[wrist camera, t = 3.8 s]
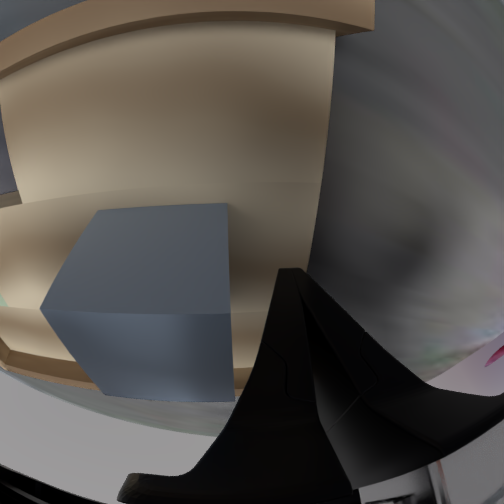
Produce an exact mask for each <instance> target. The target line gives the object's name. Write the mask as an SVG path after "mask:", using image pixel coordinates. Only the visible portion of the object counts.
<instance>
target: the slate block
mask: <svg viewBox="0 0 504 504" xmlns="http://www.w3.org/2000/svg"><path fill="white" fill-rule="evenodd" d="M39 309H40V310H41V312H42V314H43V315H44V317H45V318H46V320H47V321H48V323H49V324H50V326H51V327H52V329H53V330H54V332H55V333H56V335H57V336H58V338H59V339H60V340H61V342H62V343H63V345H64V346H65V347H66V349H67V350H68V351H69V353H70V354H71V355H72V357H73V358H74V359H75V360H76V362H77V363H78V364H79V365H80V367H81V368H82V369H83V370H84V372H85V373H86V374H87V375H88V376H89V378H90V379H91V380H92V381H93V382H94V383H95V384H96V386H97V387H98V388H99V389H100V390H101V391H102V392H103V393H104V394H105V395H109V396H116V397H125V398H134V399H145V400H159V401H179V402H231V401H235V389H234V372H233V352H232V331H231V307H230V281H229V251H228V211H227V203H213V204H186V205H166V206H148V207H133V208H119V209H107V210H98V211H97V212H96V214H95V215H94V217H93V218H92V219H91V221H90V222H89V224H88V225H87V227H86V228H85V230H84V231H83V233H82V234H81V236H80V237H79V239H78V241H77V242H76V244H75V245H74V247H73V249H72V250H71V252H70V253H69V255H68V257H67V258H66V260H65V262H64V263H63V265H62V267H61V269H60V270H59V272H58V274H57V276H56V277H55V279H54V281H53V283H52V285H51V287H50V289H49V290H48V292H47V294H46V296H45V298H44V300H43V302H42V304H41V306H40V308H39Z"/></svg>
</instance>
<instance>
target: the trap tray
mask: <svg viewBox="0 0 504 504" xmlns="http://www.w3.org/2000/svg"><path fill="white" fill-rule="evenodd" d="M374 17H375V0H87V1H85V2H82V3H79V4H76V5H74V6H71V7H68V8H66V9H64V10H61V11H59V12H56V13H54V14H52V15H50V16H47V17H45V18H43V19H41V20H39V21H37V22H35V23H33V24H31V25H29V26H27V27H25V28H23V29H22V30H20V31H18V32H16V33H14V34H13V35H11V36H9V37H8V38H6V39H4V40H3V41H1V42H0V105H1V113H2V120H3V126H4V132H5V137H6V143H7V147H8V152H9V156H10V161H11V165H12V169H13V173H14V176H15V180H16V183H17V187H18V190H19V191H15V192H11V193H6V194H2V195H0V366H1V367H2V368H3V369H5V370H8V371H11V372H15V373H18V374H22V375H25V376H29V377H33V378H37V379H41V380H46V381H50V382H55V383H59V384H64V385H70V386H75V387H81V388H87V389H94V390H100V389H99V388H98V387H97V386H96V384H95V383H94V382H93V381H92V380H91V379H90V378H89V376H88V375H87V374H86V373H85V372H84V370H83V369H82V368H81V367H80V365H79V364H78V363H77V362H76V360H75V359H74V358H73V357H72V355H71V354H70V353H69V351H68V350H67V349H66V347H65V346H64V345H63V343H62V342H61V340H60V339H59V338H58V336H57V335H56V333H55V332H54V330H53V329H52V327H51V326H50V324H49V323H48V321H47V320H46V318H45V317H44V315H43V314H42V312H41V310H40V309H39V308H40V306H41V304H42V302H43V300H44V298H45V296H46V294H47V292H48V290H49V289H50V287H51V285H52V283H53V281H54V279H55V277H56V276H57V274H58V272H59V270H60V269H61V267H62V265H63V263H64V262H65V260H66V258H67V257H68V255H69V253H70V252H71V250H72V249H73V247H74V245H75V244H76V242H77V241H78V239H79V237H80V236H81V234H82V233H83V231H84V230H85V228H86V227H87V225H88V224H89V222H90V221H91V219H92V218H93V217H94V215H95V214H96V212H97V211H98V210H107V209H119V208H133V207H148V206H166V205H186V204H213V203H227V211H228V251H229V281H230V307H231V331H232V352H233V372H234V389H235V396H241V393H242V391H243V389H244V387H245V385H246V383H247V381H248V378H249V376H250V373H251V371H252V368H253V366H254V363H255V360H256V356H257V353H258V349H259V345H260V343H261V338H262V334H263V330H264V326H265V322H266V318H267V314H268V310H269V306H270V302H271V298H272V293H273V289H274V285H275V281H276V277H277V272H278V269H279V268H295V267H300V268H302V269H303V270H304V271H305V272H307V267H308V261H309V256H310V250H311V245H312V239H313V233H314V227H315V221H316V215H317V209H318V202H319V195H320V189H321V182H322V174H323V167H324V159H325V151H326V143H327V134H328V125H329V115H330V105H331V94H332V82H333V69H334V53H335V37H338V36H343V35H348V34H354V33H360V32H367V31H374Z"/></svg>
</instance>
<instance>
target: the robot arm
mask: <svg viewBox="0 0 504 504" xmlns="http://www.w3.org/2000/svg"><path fill="white" fill-rule="evenodd" d="M117 501H119V502H122V503H126V504H504V393H502V394H501V395H497V396H490V397H489V396H480V395H474V394H467V393H461V392H455V391H449V390H443V389H439V388H435V387H433V386H431V385H429V384H427V383H425V382H424V381H422V380H421V379H420V378H419V377H417V376H416V375H415V374H414V373H412V372H411V371H410V370H409V369H408V368H406V367H405V366H404V365H403V364H402V363H400V362H399V361H398V360H397V359H395V358H394V357H393V356H392V355H391V354H390V353H388V352H387V351H386V350H385V349H384V348H383V347H382V346H381V345H380V344H379V343H377V342H376V341H375V340H374V339H373V338H372V337H371V336H370V335H369V334H368V333H367V332H365V330H364V329H363V328H362V327H361V326H360V325H359V324H358V323H357V322H356V321H355V320H354V319H353V318H352V317H351V316H350V315H349V314H348V313H347V312H346V311H345V310H344V309H343V308H342V307H341V306H340V305H339V304H338V303H337V302H336V301H335V300H334V299H333V298H332V297H331V296H330V295H329V294H328V293H327V292H325V291H324V290H323V289H322V288H321V287H320V286H319V285H318V284H317V283H316V282H315V281H314V280H313V279H312V278H311V277H310V276H309V275H308V274H307V273H306V272H305V271H304V270H303V269H302V268H300V267H295V268H279V269H278V272H277V277H276V281H275V285H274V289H273V293H272V298H271V302H270V306H269V310H268V314H267V318H266V322H265V326H264V330H263V334H262V338H261V343H260V345H259V349H258V353H257V356H256V360H255V363H254V366H253V368H252V371H251V373H250V376H249V378H248V381H247V383H246V385H245V387H244V389H243V391H242V393H241V396H240V398H239V400H238V402H237V404H236V406H235V408H234V410H233V412H232V414H231V416H230V418H229V420H228V422H227V424H226V425H225V427H224V429H223V430H222V432H221V433H220V434H219V436H218V437H217V438H216V440H215V441H214V442H213V444H212V445H211V446H210V448H209V449H208V450H207V451H206V453H205V454H204V456H203V457H202V458H201V459H200V461H199V462H198V463H197V464H196V466H195V467H194V468H193V469H192V470H191V471H189V472H187V473H185V474H183V475H179V476H162V475H153V474H144V473H131V474H129V475H128V476H127V478H126V480H125V482H124V484H123V486H122V488H121V490H120V491H119V494H118V497H117ZM0 504H106V503H102V502H99V501H95V500H92V499H88V498H85V497H82V496H79V495H76V494H72V493H70V492H67V491H64V490H62V489H59V488H56V487H54V486H51V485H49V484H46V483H44V482H41V481H39V480H36V479H34V478H31V477H29V476H27V475H24V474H22V473H20V472H17V471H15V470H13V469H10V468H8V467H6V466H4V465H1V464H0Z"/></svg>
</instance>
